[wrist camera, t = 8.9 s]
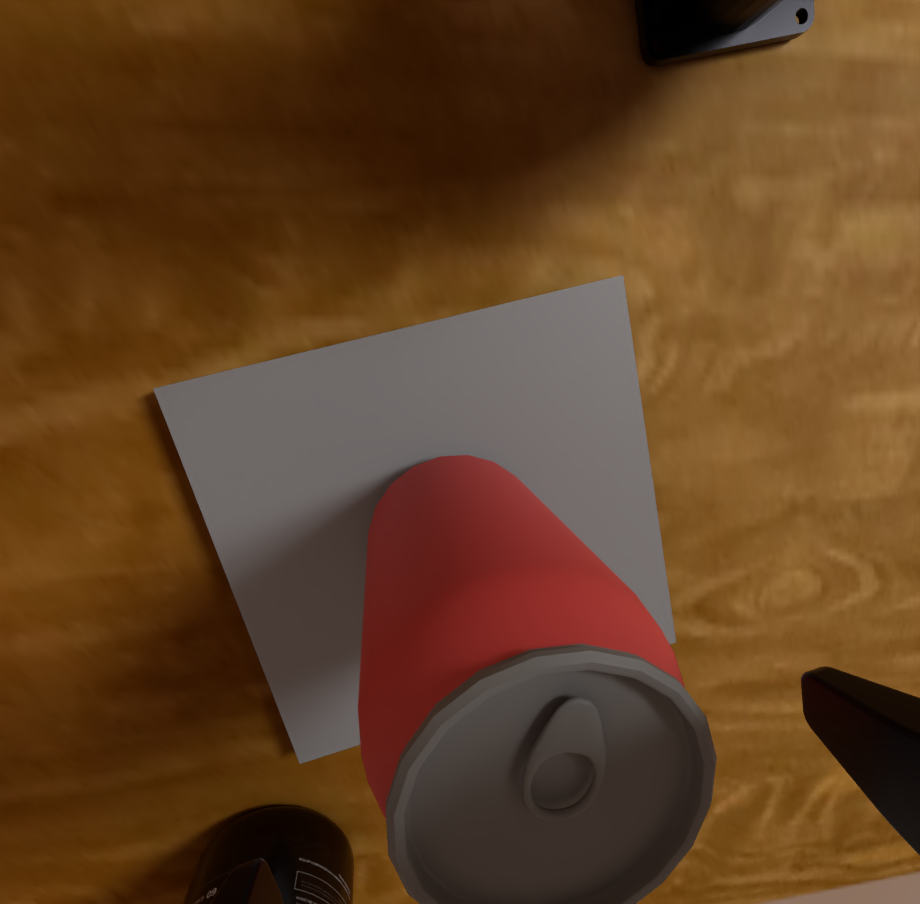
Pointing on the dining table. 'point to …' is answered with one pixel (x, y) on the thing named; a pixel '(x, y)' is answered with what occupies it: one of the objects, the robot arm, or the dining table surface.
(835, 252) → the dining table surface
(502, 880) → the beer can
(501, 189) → the dining table surface
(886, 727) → the robot arm
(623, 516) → the slate board
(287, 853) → the supplement bottle
